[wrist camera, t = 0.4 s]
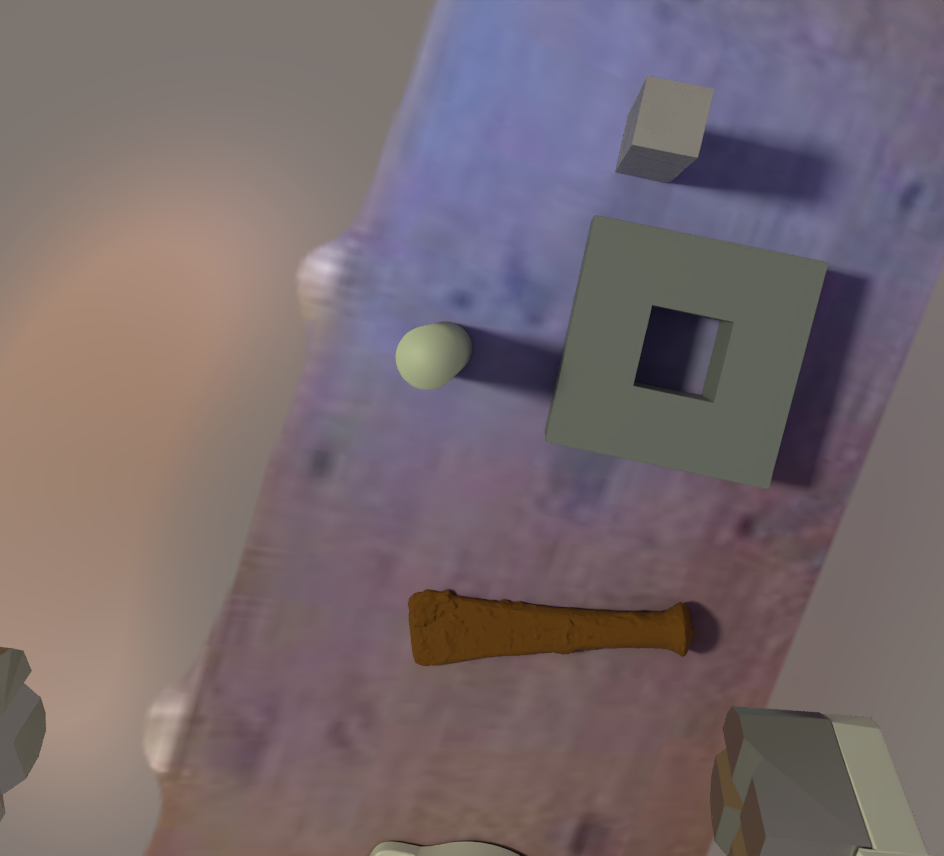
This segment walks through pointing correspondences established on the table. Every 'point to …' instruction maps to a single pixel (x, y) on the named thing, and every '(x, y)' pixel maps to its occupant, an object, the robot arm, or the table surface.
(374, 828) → the table surface
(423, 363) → the round bit
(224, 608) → the table surface
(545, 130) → the table surface
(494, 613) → the primitive tool
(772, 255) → the socket block
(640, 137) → the square bit
